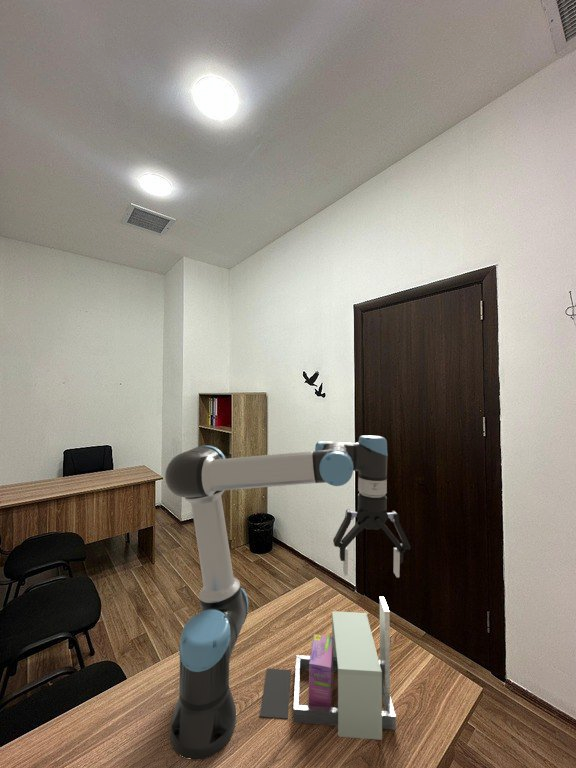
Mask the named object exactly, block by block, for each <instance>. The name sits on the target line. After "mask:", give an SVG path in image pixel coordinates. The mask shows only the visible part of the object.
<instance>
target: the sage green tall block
mask: <svg viewBox="0 0 576 768" xmlns="http://www.w3.org/2000/svg"><path fill="white" fill-rule="evenodd" d="M331 614H332V615H331V619H332V621H331V622H332V623H331V628H332V629H331V632H332V633H331V637H333V638H334V644H333V657H337V666H338V672H337V708H338V726H337V736H338V737H340V738H341V737H342V738H343V737H344V738H352V739H353V738H354V739H355V738H356V739H366V740H378V741H379V740H381V741H383V729H382V711H383V697H382V671H381V667H380V663H379V660H380V658H379V657H378V653H377V648H376V646H375V641H374V638H373V633H372V630H371V626H370V621H369V618H368V614H367V612H357V611H353V612H352V611H338V610H337V611H336V610H335V611H332V613H331Z"/></svg>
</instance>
